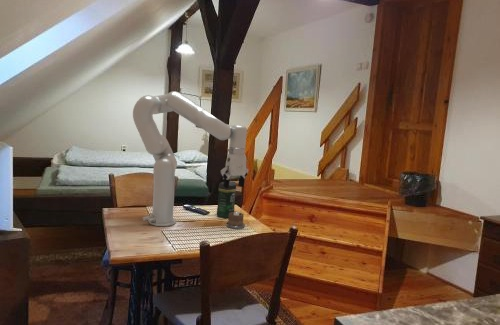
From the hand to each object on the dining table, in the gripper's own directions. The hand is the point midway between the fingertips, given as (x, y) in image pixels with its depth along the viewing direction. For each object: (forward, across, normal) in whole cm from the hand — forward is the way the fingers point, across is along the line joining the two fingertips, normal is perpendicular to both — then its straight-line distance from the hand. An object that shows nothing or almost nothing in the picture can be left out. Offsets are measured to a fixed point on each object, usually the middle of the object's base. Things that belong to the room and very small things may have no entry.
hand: (233, 187), depth 171 cm
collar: (+18, +1, -2) cm, 18 cm away
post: (+19, +1, -2) cm, 19 cm away
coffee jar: (+19, +9, +14) cm, 25 cm away
